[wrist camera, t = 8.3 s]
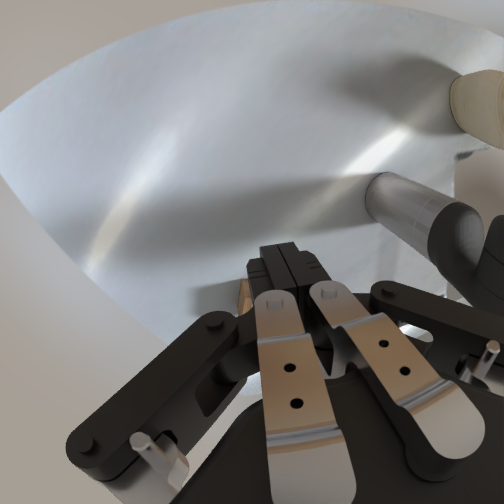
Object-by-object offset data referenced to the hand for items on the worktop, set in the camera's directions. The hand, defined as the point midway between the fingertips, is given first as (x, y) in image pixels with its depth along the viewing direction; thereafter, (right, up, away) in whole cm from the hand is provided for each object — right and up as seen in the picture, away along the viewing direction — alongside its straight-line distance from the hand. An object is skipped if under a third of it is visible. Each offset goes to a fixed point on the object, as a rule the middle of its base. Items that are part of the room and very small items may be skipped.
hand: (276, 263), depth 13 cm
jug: (+43, +31, +26) cm, 59 cm away
